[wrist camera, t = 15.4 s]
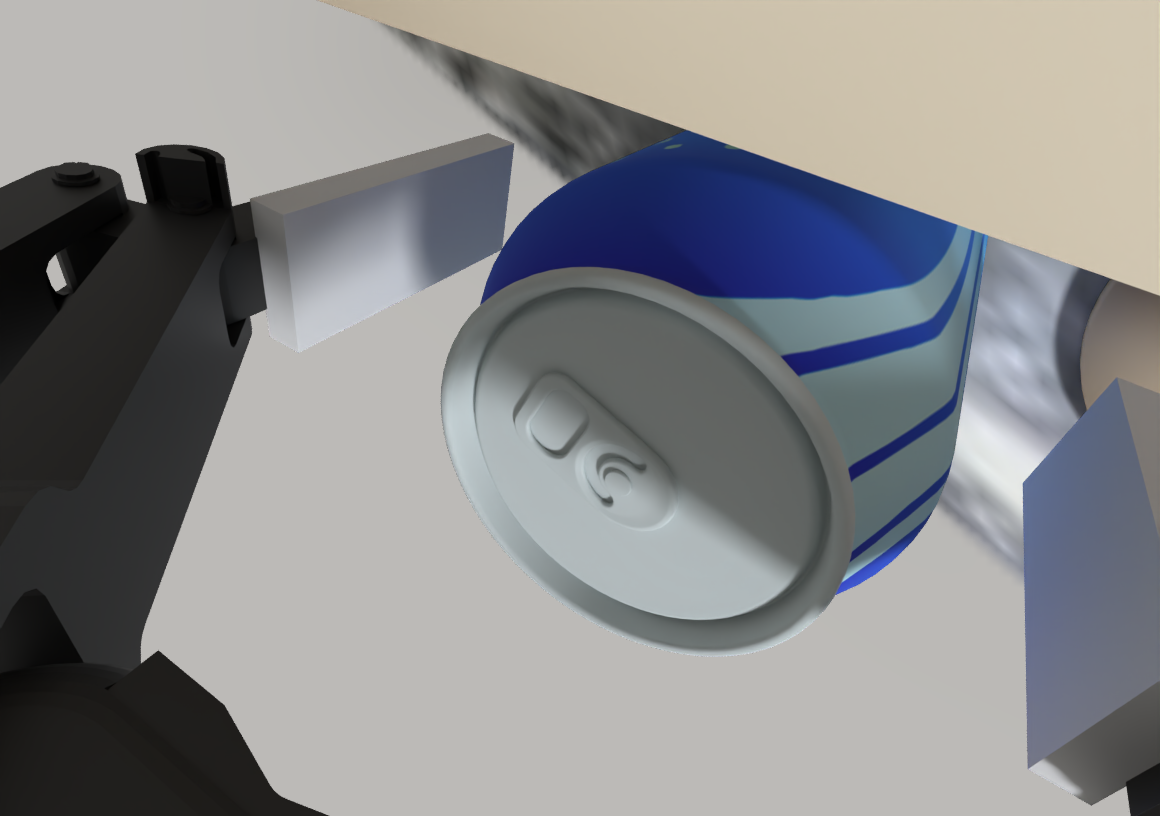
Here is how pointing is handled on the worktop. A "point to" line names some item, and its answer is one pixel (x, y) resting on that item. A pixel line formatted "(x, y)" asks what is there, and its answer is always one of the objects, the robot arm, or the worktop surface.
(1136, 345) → the coaster
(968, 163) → the wooden open frame
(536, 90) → the worktop surface
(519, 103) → the worktop surface
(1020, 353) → the worktop surface
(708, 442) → the beer can
